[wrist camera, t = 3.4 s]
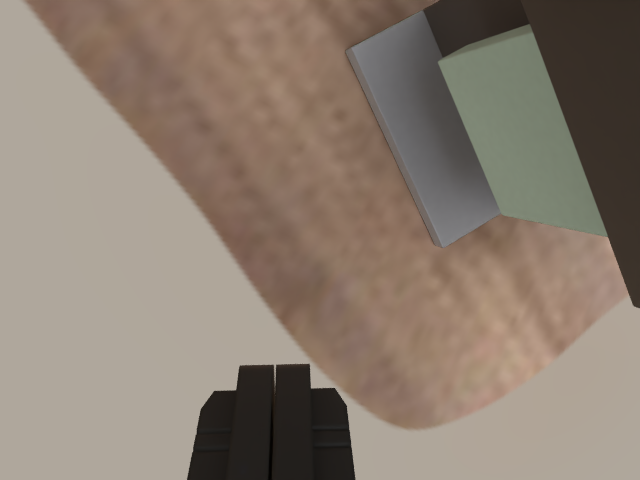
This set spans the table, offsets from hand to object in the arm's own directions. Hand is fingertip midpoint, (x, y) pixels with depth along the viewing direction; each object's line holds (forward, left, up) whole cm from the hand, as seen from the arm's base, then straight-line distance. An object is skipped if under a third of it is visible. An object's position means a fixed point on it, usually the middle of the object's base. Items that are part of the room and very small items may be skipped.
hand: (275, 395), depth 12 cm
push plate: (+9, +8, -10) cm, 16 cm away
